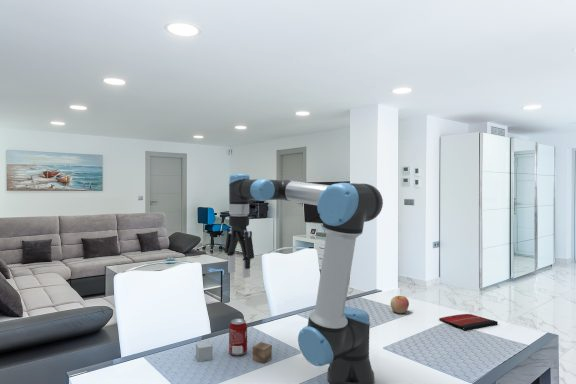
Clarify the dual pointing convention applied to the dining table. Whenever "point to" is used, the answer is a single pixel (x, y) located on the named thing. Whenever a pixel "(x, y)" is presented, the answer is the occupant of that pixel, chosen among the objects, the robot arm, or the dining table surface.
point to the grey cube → (204, 351)
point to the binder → (468, 321)
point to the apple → (399, 304)
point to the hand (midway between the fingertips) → (238, 274)
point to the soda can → (238, 337)
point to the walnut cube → (262, 352)
